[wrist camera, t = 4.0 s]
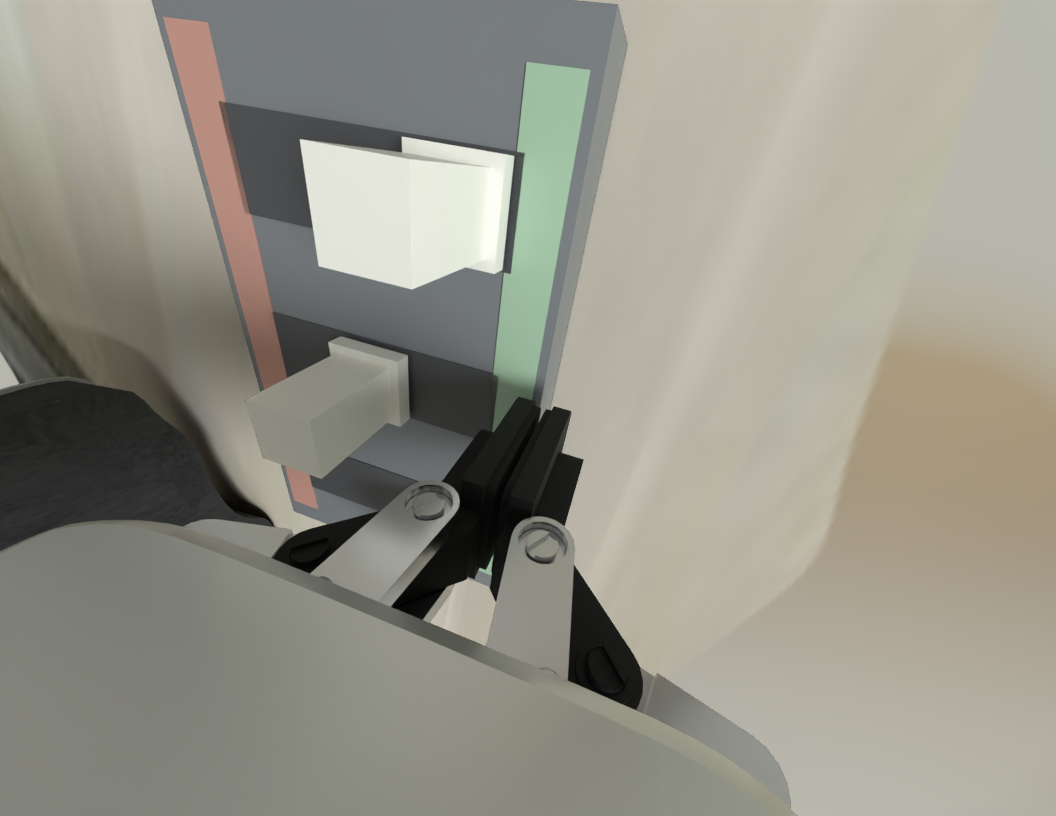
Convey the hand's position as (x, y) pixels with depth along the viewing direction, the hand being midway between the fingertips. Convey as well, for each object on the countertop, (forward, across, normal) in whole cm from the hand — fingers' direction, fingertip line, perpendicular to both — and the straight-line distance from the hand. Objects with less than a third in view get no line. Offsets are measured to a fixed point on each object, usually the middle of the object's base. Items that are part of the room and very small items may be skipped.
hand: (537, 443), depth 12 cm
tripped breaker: (+1, +6, 0) cm, 6 cm away
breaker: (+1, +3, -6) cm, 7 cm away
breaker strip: (+4, +6, 0) cm, 7 cm away
